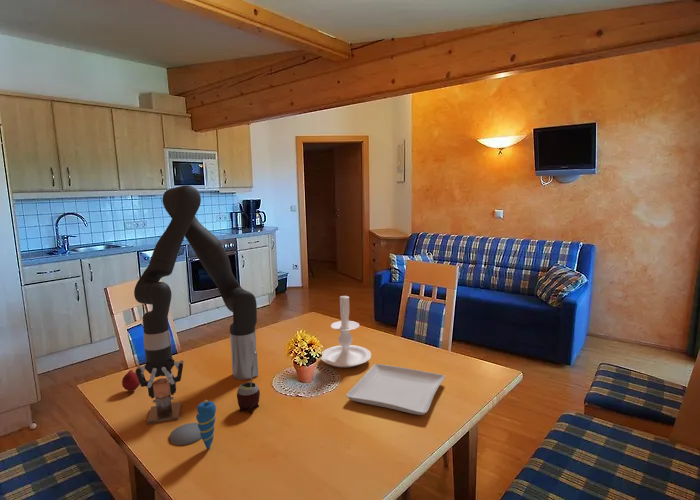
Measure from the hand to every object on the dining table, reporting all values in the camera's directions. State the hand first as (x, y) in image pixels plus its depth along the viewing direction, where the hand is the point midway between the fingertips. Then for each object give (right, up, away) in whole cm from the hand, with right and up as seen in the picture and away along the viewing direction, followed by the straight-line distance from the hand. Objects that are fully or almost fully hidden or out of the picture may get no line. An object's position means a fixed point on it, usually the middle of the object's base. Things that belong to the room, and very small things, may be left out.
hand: (162, 395), depth 131 cm
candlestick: (+57, +1, +39) cm, 69 cm away
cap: (0, +1, 0) cm, 1 cm away
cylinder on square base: (0, -6, +1) cm, 6 cm away
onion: (-18, -4, +16) cm, 25 cm away
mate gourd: (+26, -6, +4) cm, 27 cm away
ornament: (+20, -9, -17) cm, 28 cm away
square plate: (+75, -4, +12) cm, 76 cm away
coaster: (+12, -8, -10) cm, 17 cm away
